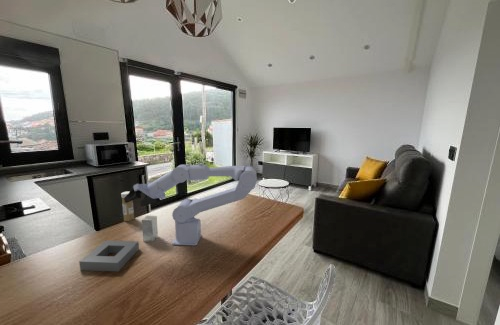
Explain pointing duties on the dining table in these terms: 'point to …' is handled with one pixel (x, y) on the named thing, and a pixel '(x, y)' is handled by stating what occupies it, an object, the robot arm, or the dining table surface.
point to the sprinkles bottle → (127, 208)
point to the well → (109, 263)
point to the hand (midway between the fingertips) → (133, 202)
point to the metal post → (149, 228)
